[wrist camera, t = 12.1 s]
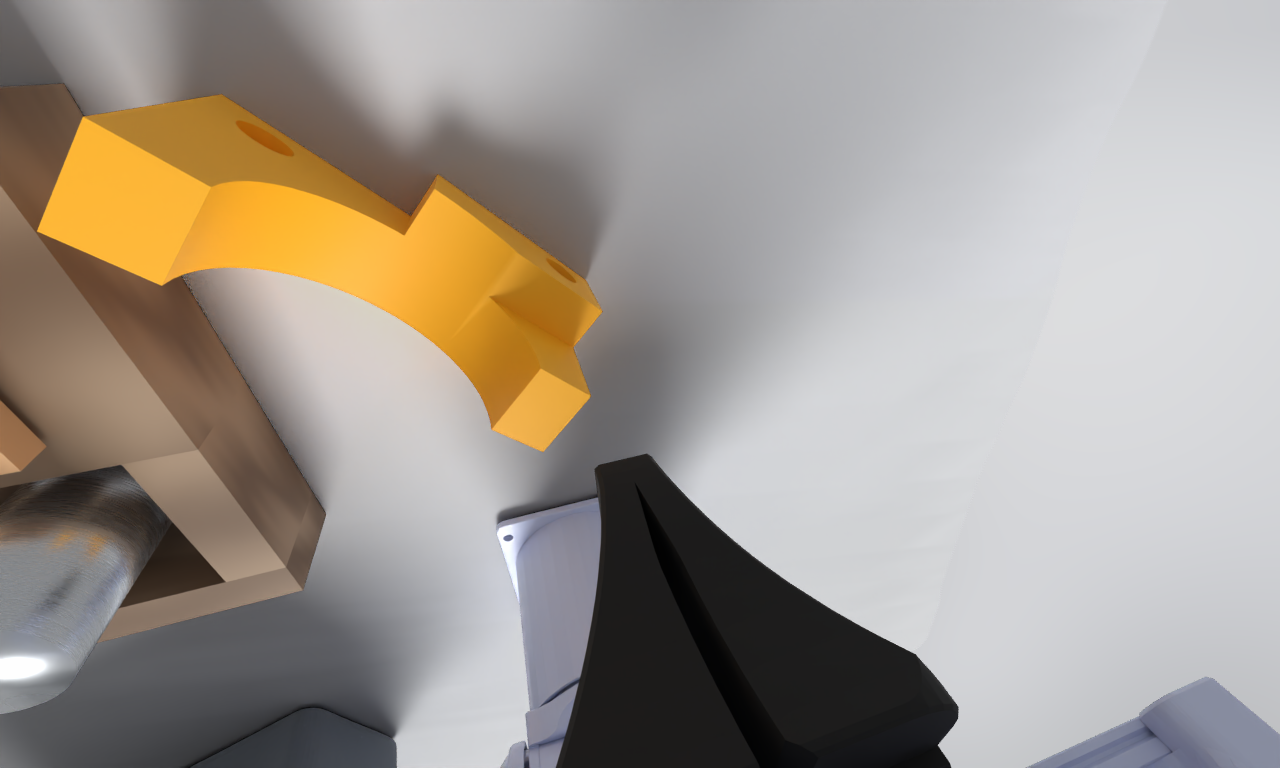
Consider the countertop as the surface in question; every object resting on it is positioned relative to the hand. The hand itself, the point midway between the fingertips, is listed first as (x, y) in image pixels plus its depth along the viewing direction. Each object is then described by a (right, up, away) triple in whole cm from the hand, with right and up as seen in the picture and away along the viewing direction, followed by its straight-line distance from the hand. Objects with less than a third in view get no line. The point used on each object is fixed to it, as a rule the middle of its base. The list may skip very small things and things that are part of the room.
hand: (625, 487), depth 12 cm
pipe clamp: (-8, +8, +5) cm, 12 cm away
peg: (-19, 0, +7) cm, 20 cm away
